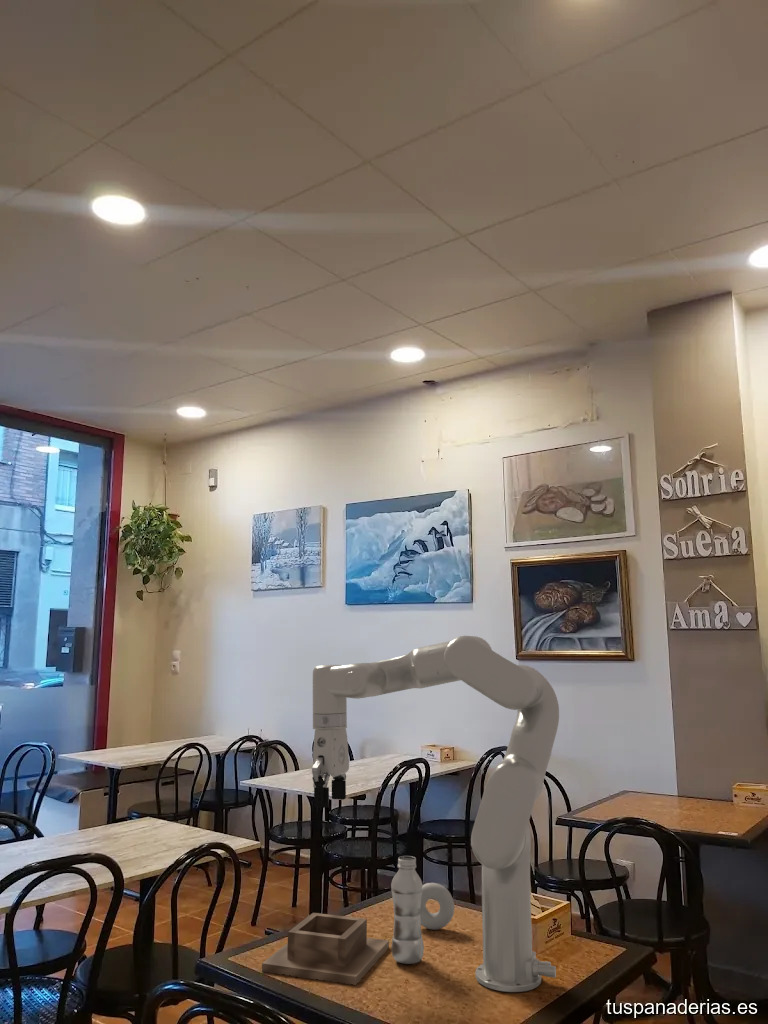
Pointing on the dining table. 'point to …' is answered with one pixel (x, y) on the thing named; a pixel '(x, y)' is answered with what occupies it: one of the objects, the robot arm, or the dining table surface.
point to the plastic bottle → (407, 912)
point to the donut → (446, 906)
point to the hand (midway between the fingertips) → (330, 803)
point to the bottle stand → (327, 950)
